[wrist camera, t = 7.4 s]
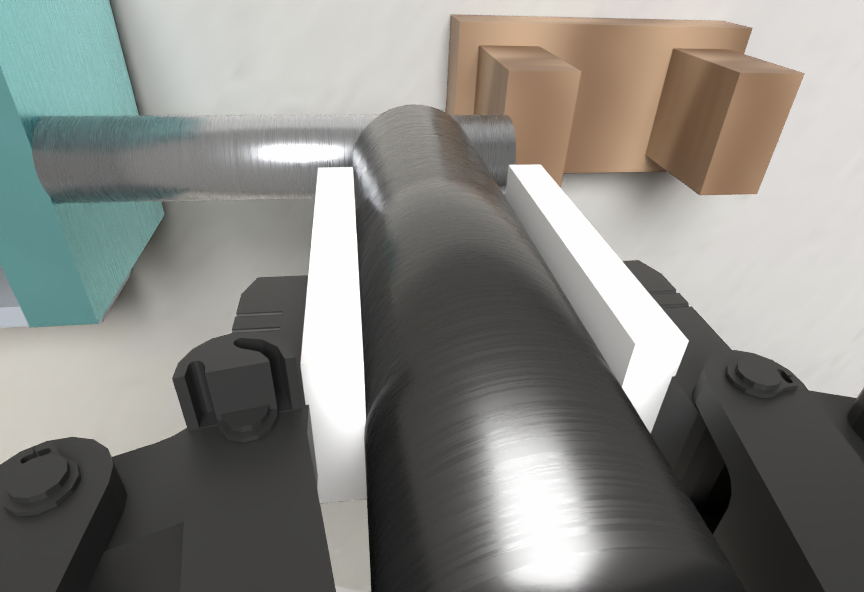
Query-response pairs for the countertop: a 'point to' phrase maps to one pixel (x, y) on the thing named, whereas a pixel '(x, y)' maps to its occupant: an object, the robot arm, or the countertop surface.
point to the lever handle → (369, 314)
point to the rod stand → (625, 95)
